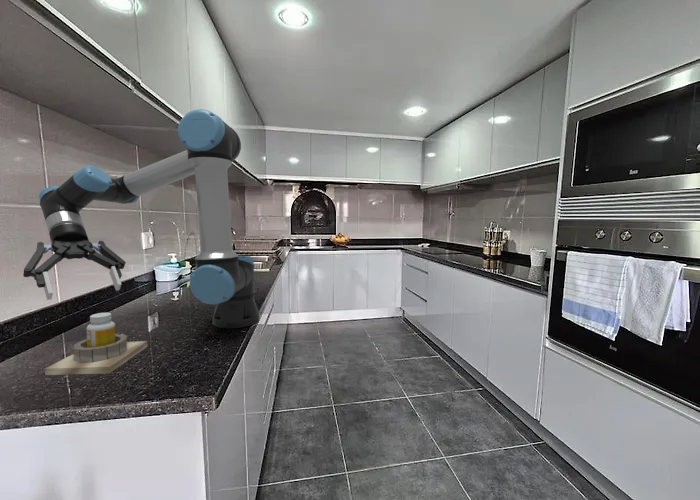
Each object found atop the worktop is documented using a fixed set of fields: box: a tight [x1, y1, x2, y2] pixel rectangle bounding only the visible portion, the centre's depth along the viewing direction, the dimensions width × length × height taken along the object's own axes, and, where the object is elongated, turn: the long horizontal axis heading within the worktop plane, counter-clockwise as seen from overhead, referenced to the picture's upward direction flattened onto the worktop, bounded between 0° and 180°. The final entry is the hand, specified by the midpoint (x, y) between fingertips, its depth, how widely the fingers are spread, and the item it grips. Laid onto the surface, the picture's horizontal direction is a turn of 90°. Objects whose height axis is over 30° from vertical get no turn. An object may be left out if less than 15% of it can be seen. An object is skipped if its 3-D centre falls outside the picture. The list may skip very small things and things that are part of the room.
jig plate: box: [44, 333, 148, 376], centre depth 74 cm, size 13×15×4 cm
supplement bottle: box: [86, 312, 116, 348], centre depth 74 cm, size 5×5×10 cm
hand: (86, 291), depth 77 cm, fingers open, 13 cm apart
